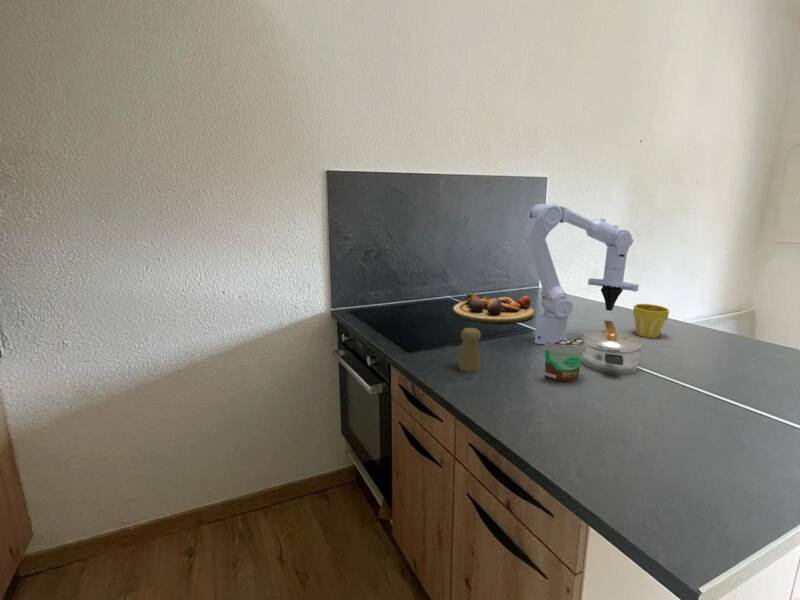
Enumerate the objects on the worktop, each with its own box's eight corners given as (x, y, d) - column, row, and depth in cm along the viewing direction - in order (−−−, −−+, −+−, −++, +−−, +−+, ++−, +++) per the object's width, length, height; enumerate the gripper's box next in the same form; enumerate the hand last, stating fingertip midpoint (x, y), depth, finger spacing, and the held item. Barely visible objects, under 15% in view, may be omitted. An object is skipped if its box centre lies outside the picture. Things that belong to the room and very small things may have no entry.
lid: (645, 355, 109) (647, 344, 109) (583, 348, 114) (585, 337, 114) (634, 333, 128) (635, 323, 127) (581, 327, 133) (582, 318, 132)
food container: (559, 388, 105) (563, 349, 102) (540, 378, 110) (543, 341, 108) (593, 378, 110) (598, 341, 108) (574, 370, 115) (578, 335, 113)
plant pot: (669, 341, 140) (674, 312, 138) (635, 338, 142) (639, 310, 140) (658, 331, 150) (662, 304, 148) (626, 329, 152) (629, 302, 150)
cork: (482, 365, 118) (484, 327, 116) (478, 373, 113) (480, 333, 110) (460, 362, 120) (462, 324, 118) (455, 370, 115) (457, 330, 112)
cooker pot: (642, 381, 109) (646, 359, 107) (583, 373, 113) (585, 352, 112) (630, 353, 129) (633, 334, 127) (580, 347, 133) (582, 328, 132)
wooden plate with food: (532, 306, 184) (533, 287, 182) (536, 326, 154) (537, 304, 152) (457, 303, 192) (458, 284, 190) (447, 321, 162) (448, 300, 160)
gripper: (644, 269, 132) (637, 311, 135) (596, 264, 142) (591, 303, 145) (636, 272, 127) (630, 316, 130) (587, 266, 137) (582, 307, 140)
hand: (609, 309), depth 137 cm, fingers closed
